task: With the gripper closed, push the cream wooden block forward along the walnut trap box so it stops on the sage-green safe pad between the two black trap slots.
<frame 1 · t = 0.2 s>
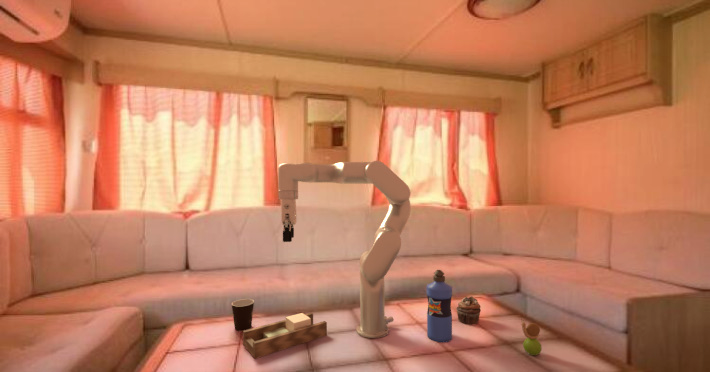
hand: (288, 239, 129), 36 cm above the table, tool pointing down, fingers open, 9 cm apart
cream block: (298, 328, 126), point 3 cm above the table, touching trap box
snail figurine: (530, 354, 111), on the table
trap box: (286, 339, 123), on the table
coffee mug: (245, 326, 136), on the table
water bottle: (439, 337, 125), on the table
cupcake: (468, 321, 139), on the table
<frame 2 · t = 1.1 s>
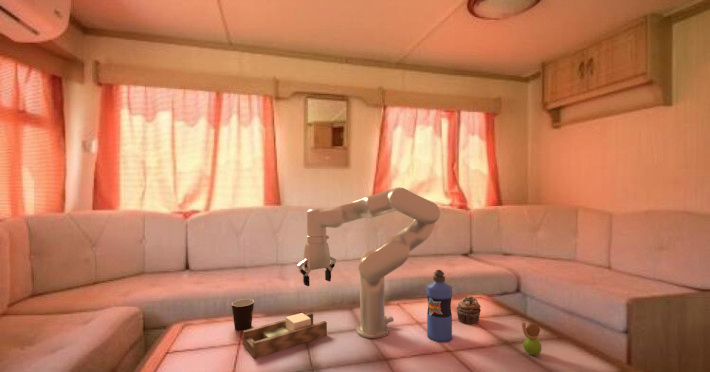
hand: (317, 283, 131), 19 cm above the table, tool pointing down, fingers open, 9 cm apart
nothing on the table moved.
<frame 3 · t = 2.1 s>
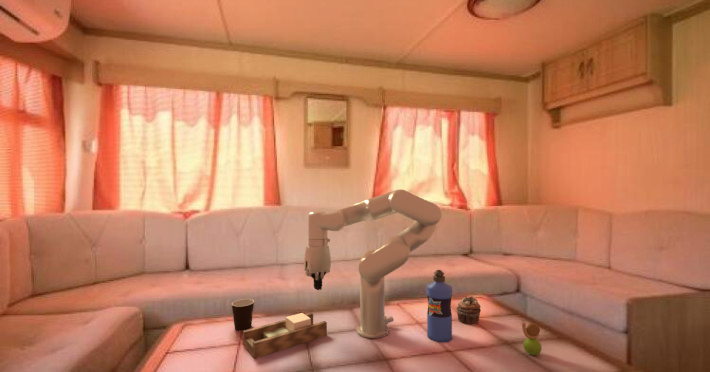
hand: (317, 288, 132), 16 cm above the table, tool pointing down, fingers closed
nothing on the table moved.
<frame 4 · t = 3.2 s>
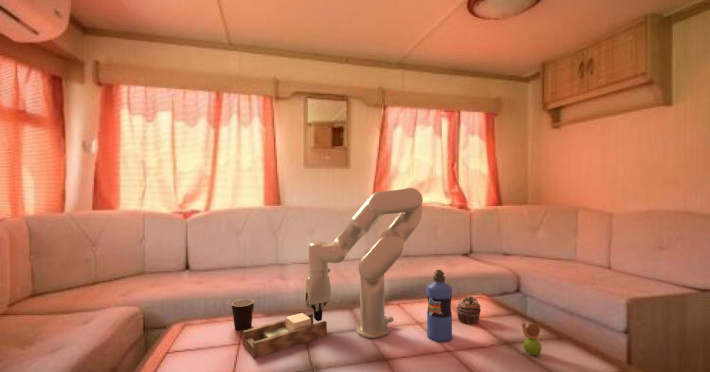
hand: (318, 319, 132), 4 cm above the table, tool pointing down, fingers closed
nothing on the table moved.
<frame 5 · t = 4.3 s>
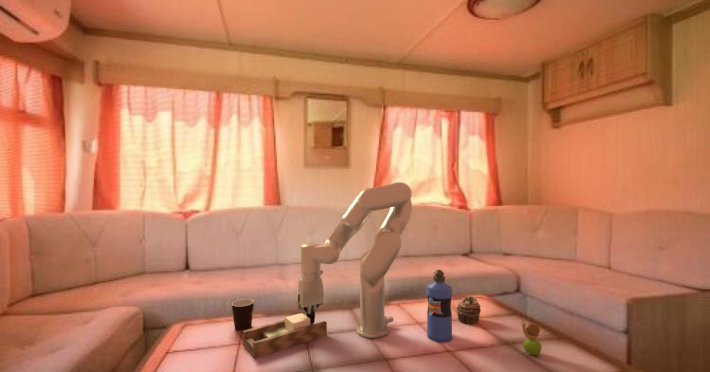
hand: (310, 322, 130), 4 cm above the table, tool pointing down, fingers closed
cream block: (297, 328, 126), point 3 cm above the table, touching gripper
everything else where it was.
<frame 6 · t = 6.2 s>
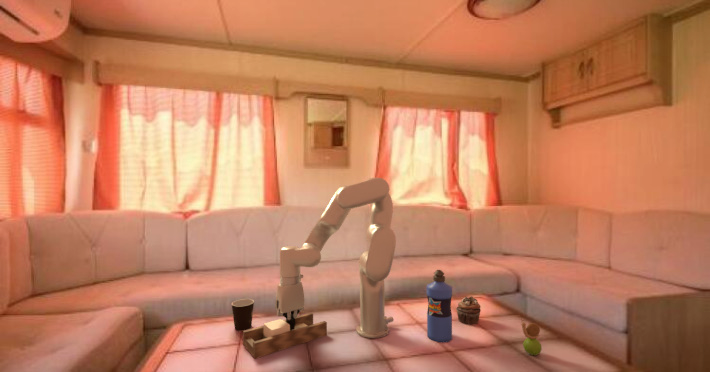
hand: (290, 328, 124), 4 cm above the table, tool pointing down, fingers closed
cream block: (276, 335, 120), point 3 cm above the table, touching gripper, trap box
everything else where it was.
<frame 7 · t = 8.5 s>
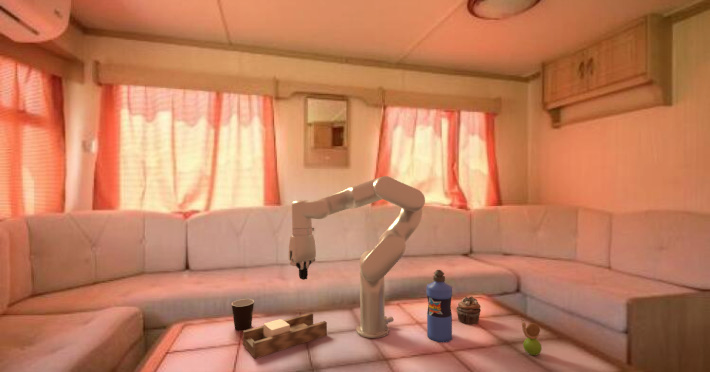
hand: (303, 278, 130), 21 cm above the table, tool pointing down, fingers closed
cream block: (276, 335, 120), point 3 cm above the table, touching trap box
everything else where it was.
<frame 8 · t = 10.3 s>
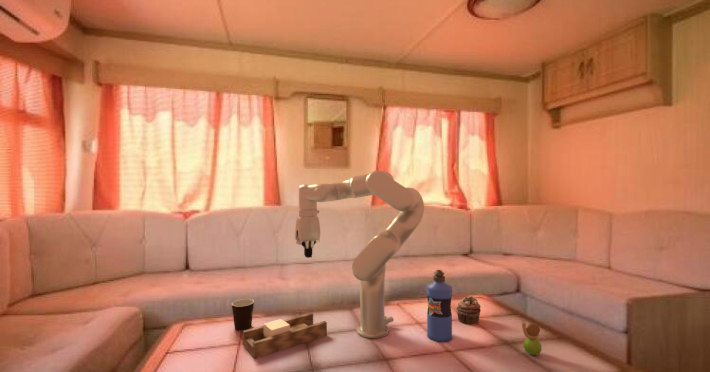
hand: (308, 257, 140), 27 cm above the table, tool pointing down, fingers closed
nothing on the table moved.
at the end: cream block 0.6 cm from the target spot on the trap box, point 3.0 cm above the trap box's base; cream block tilted 0° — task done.
